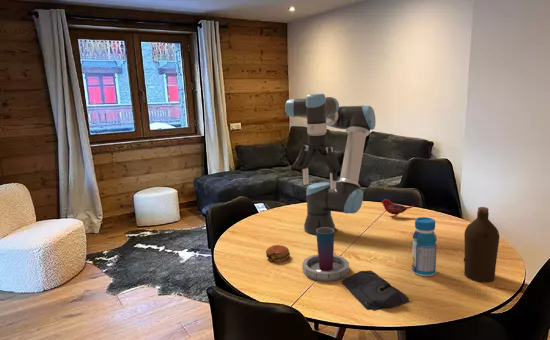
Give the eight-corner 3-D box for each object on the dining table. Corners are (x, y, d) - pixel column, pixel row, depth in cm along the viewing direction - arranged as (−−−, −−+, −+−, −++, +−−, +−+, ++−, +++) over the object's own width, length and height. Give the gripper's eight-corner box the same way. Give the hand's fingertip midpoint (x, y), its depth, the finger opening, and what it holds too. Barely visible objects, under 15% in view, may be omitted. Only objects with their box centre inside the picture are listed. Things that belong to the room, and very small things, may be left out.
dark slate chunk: (376, 274, 139) (376, 262, 138) (413, 304, 118) (413, 290, 117) (338, 281, 135) (337, 269, 134) (369, 314, 114) (369, 300, 113)
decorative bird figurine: (380, 216, 202) (380, 198, 201) (414, 216, 200) (415, 198, 198) (381, 218, 200) (381, 199, 198) (415, 218, 197) (416, 199, 195)
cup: (315, 264, 146) (314, 227, 143) (332, 263, 146) (332, 226, 143) (319, 272, 139) (318, 234, 136) (337, 271, 140) (336, 232, 137)
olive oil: (503, 280, 129) (509, 210, 124) (478, 285, 127) (482, 214, 122) (480, 267, 139) (484, 202, 135) (455, 272, 137) (458, 205, 132)
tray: (294, 272, 143) (293, 264, 142) (321, 257, 154) (321, 250, 154) (330, 286, 131) (330, 278, 130) (357, 269, 142) (357, 261, 142)
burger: (286, 252, 162) (286, 241, 161) (292, 261, 153) (291, 250, 152) (264, 255, 160) (263, 244, 159) (268, 264, 151) (267, 253, 150)
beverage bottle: (424, 279, 132) (426, 225, 129) (406, 270, 140) (407, 218, 136) (441, 273, 136) (443, 220, 132) (422, 264, 144) (424, 214, 140)
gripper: (286, 134, 153) (289, 184, 158) (338, 136, 137) (340, 192, 141) (298, 131, 159) (301, 180, 163) (349, 133, 142) (350, 188, 146)
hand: (319, 186), depth 152 cm, fingers open, 13 cm apart
